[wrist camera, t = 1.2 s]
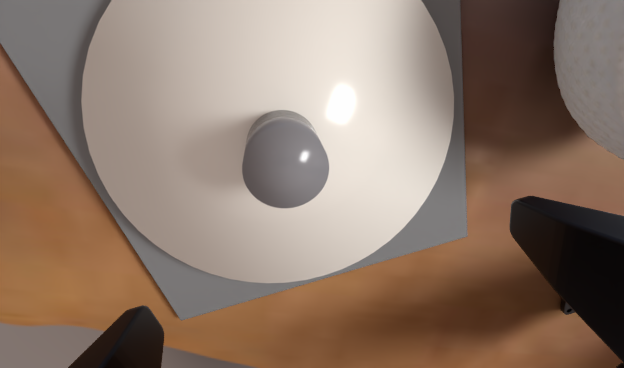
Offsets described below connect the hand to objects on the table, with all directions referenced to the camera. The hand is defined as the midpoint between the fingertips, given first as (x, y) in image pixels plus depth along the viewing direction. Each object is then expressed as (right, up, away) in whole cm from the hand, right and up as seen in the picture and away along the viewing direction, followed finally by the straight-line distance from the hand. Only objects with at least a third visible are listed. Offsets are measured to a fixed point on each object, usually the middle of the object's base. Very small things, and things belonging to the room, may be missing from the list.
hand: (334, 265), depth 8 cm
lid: (-2, +4, +11) cm, 12 cm away
